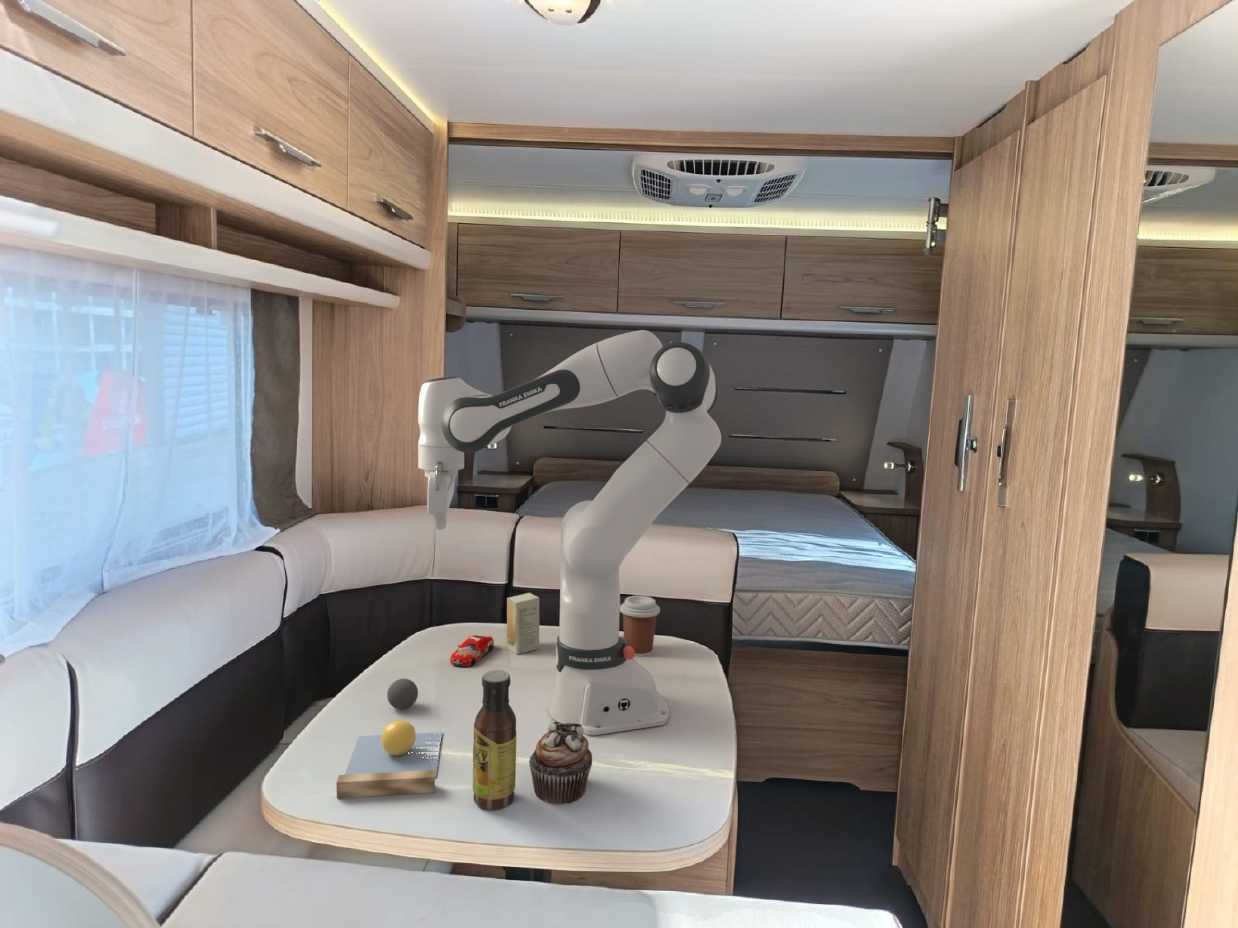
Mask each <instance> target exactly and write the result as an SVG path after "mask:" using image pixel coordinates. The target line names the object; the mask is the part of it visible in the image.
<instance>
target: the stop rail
mask: <svg viewBox="0 0 1238 928" xmlns="http://www.w3.org/2000/svg"><path fill="white" fill-rule="evenodd" d="M435 786H436V778H435V770H425V771H405V772H386V773H367V774H348V775H345V774H339V775H338V776H337V779H336V798H337V799H343V798H345V799H346V798H347V799H348V798H361V797H362V798H363V797H364V798H365V797H376V796H377V797H379V796H398V795H414V794H432V793H433V794H434V792H435Z"/></svg>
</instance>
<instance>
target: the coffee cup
mask: <svg viewBox="0 0 1238 928" xmlns="http://www.w3.org/2000/svg"><path fill="white" fill-rule="evenodd" d="M660 611H661V608H660V606H659V605H658V604H656V599H655V598H652V597H650V596H647V595H632V596H627V597H626V598H624V602H623V603H621V604H620V613H622V624H623V626H622V627H623V637H624V638H625V640H626V641H628V643H629V646H631V647H632V648H633V650H634V652H635V655H634V656H635V657H636V658H637V657H638V658H640V657H647V656H650V655H652V654H653V648H654V647H653V646H654V640H655V632H656V625H657V623H656V622H657V618H658V617H657V616H658V615H659V614H660V613H661V612H660Z"/></svg>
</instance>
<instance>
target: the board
mask: <svg viewBox="0 0 1238 928" xmlns="http://www.w3.org/2000/svg"><path fill="white" fill-rule="evenodd" d="M415 733H416V732H415ZM435 733H436V735H435ZM438 733H441V734H440V735H439V734H438ZM442 733H443V731H442V732H441V731H440V732H419V733H416V740H415V742H416V743H414V745H413V748H411V750H410V751H408V752H409V753H410V754H408V752H407V753H405V754H403V755H400V756H394V755H391V754H389V753H387V752H386V751H385V750H384V748H383V746H382V743H381V736H382V734H377V735H375V734H374V735H359V736H358V738H357V740H356V744H355V746H354V749H353V752H352V754H351V757H350V760H349V762H348V765H347V767H346V770H345V773H344V775H348V774H367V773H386V772H405V771H425V770H435V779H436V778H437V775H436V774H437V772H438V768H439V761H438V760H439V759H440V754H439V755H437V756H436V755H431V756H430V754H429V756H428V755H427V754H426V753H424V754H421V752H433V751H434V750H433V751H431V750H430V748H429V750H430V751H429V750H428V749H427V748H423V749H422V748H421V749H420V748H419V747H438V745H437V744H436V743H435V744H434V743H431V744H428V743H427V744H426V743H425V742H441V743H442V741H441V740H440V738H442V739H443V734H444V733H443V734H442ZM426 738H427V739H426ZM429 738H431V739H429ZM437 738H439V739H437ZM422 742H423V743H422ZM416 747H417V748H418V749H417V748H416ZM439 747H442V745H441V746H440V744H439ZM432 749H433V748H432ZM411 752H413V753H411ZM418 752H420V754H419V753H418ZM434 752H440V753H441V750H440V751H434ZM416 753H417V754H416ZM425 755H426V756H425ZM422 757H424V758H422ZM426 757H428V758H429V759H428V758H426ZM430 757H431V758H432V759H431V758H430ZM433 757H439V758H435V759H434V758H433ZM437 759H438V760H437ZM431 761H432V762H431ZM435 761H436V762H435ZM437 761H438V762H437ZM437 767H438V768H437Z"/></svg>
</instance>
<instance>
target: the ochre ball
mask: <svg viewBox="0 0 1238 928" xmlns="http://www.w3.org/2000/svg"><path fill="white" fill-rule="evenodd" d="M381 735H382V736H381V743H382V746H383V748H384V750H385V751H386V752H387V753H389V754H391V755H394V756H400V755H403V754H405V753H407V752H408V751H410V750H411V748H412V747H413V745H414V743H415V740H416V730H415V727H414V726H413V725H412V724H411V723H410V722H408V721H407V720H403V719H402V720H401V719H399V720H397V719H396V720H394V721H391V722H390V723H388V724H387V725H386V726H385V727H384V729H383V730H382V733H381Z"/></svg>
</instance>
